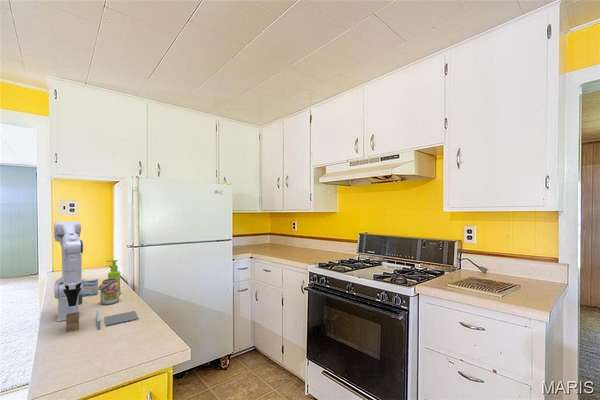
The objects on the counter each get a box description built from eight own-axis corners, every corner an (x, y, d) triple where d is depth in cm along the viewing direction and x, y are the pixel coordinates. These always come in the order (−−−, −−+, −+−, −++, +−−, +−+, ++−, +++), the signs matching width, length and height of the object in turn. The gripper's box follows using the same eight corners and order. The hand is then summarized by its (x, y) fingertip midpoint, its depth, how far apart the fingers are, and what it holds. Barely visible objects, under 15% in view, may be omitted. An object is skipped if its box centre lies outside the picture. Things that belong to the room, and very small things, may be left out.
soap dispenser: (109, 294, 169) (109, 259, 169) (122, 293, 169) (122, 259, 170) (103, 297, 163) (103, 261, 163) (116, 296, 163) (116, 260, 164)
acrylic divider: (96, 318, 130) (96, 310, 130) (98, 317, 131) (98, 310, 131) (97, 330, 117) (97, 321, 117) (100, 329, 118) (100, 320, 118)
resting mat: (104, 318, 130) (104, 316, 130) (134, 312, 137) (134, 310, 138) (105, 326, 121) (105, 325, 121) (138, 319, 128) (138, 318, 128)
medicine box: (79, 297, 164) (80, 281, 164) (81, 295, 168) (81, 280, 168) (96, 295, 167) (96, 280, 168) (98, 293, 171) (98, 278, 172)
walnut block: (66, 328, 119) (66, 314, 120) (78, 326, 122) (78, 311, 122) (66, 331, 116) (66, 316, 116) (78, 329, 119) (78, 314, 119)
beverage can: (98, 307, 146) (98, 282, 146) (97, 303, 153) (97, 280, 153) (120, 303, 152) (120, 279, 152) (117, 299, 158) (117, 277, 159)
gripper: (85, 271, 116) (84, 306, 116) (85, 266, 128) (84, 297, 128) (62, 274, 112) (62, 309, 112) (64, 268, 124) (64, 300, 123)
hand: (72, 303), depth 119 cm, fingers open, 7 cm apart
